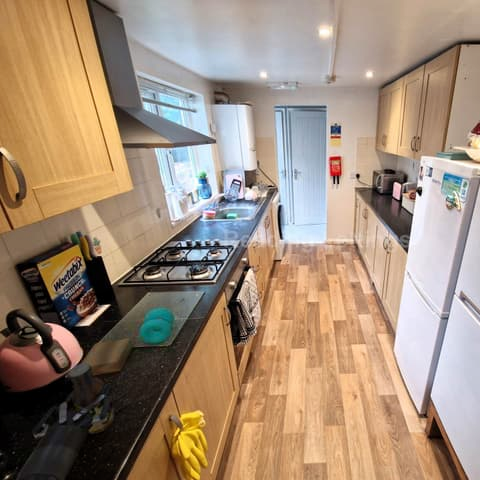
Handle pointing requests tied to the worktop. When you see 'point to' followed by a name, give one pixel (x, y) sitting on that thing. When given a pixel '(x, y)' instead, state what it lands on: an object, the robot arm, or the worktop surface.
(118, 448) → the worktop surface
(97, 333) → the worktop surface
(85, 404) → the sauce bottle
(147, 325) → the donuts
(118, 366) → the oak block
